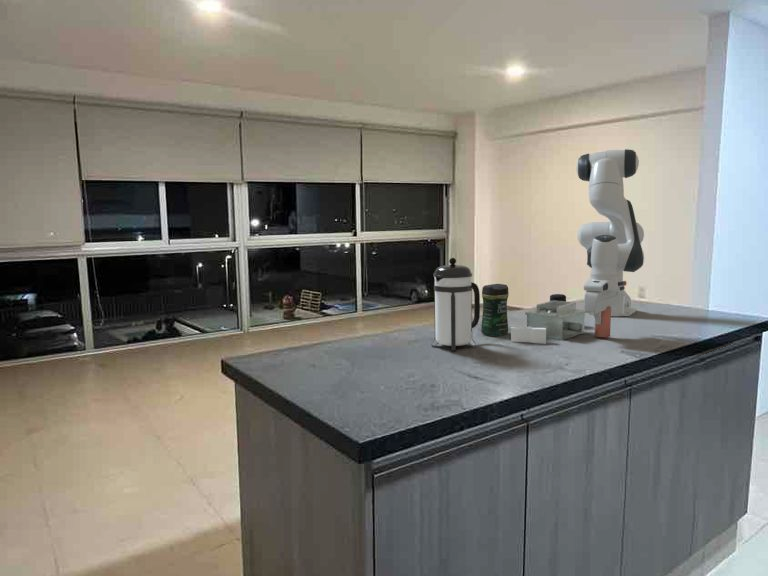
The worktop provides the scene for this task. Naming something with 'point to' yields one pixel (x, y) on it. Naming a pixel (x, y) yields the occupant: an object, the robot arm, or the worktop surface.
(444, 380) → the worktop surface
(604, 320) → the spout can
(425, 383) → the worktop surface
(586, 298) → the robot arm
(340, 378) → the worktop surface
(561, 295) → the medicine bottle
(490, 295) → the coffee jar
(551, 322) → the pale green square box
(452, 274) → the coffee press
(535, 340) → the white stepped block
